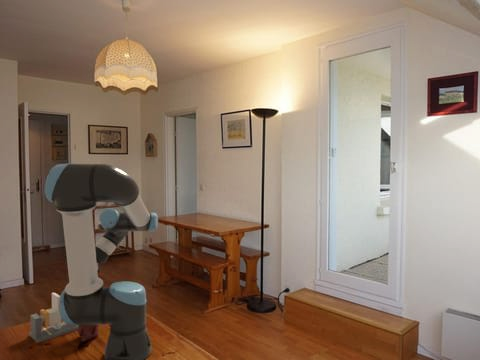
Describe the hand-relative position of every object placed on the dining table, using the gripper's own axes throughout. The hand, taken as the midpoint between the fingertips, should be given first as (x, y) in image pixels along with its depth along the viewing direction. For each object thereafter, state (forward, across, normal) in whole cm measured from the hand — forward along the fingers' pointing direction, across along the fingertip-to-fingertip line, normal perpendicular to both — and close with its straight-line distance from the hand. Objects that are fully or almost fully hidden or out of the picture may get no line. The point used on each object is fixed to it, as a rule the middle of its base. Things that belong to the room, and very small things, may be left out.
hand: (60, 301), depth 138 cm
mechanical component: (+5, -13, -11) cm, 18 cm away
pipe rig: (+9, 0, -7) cm, 11 cm away
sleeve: (+9, 0, -4) cm, 10 cm away
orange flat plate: (+9, 0, -1) cm, 9 cm away
